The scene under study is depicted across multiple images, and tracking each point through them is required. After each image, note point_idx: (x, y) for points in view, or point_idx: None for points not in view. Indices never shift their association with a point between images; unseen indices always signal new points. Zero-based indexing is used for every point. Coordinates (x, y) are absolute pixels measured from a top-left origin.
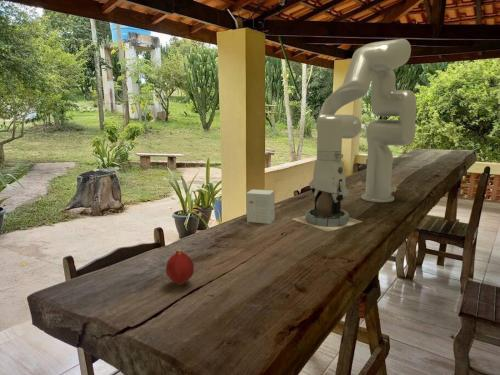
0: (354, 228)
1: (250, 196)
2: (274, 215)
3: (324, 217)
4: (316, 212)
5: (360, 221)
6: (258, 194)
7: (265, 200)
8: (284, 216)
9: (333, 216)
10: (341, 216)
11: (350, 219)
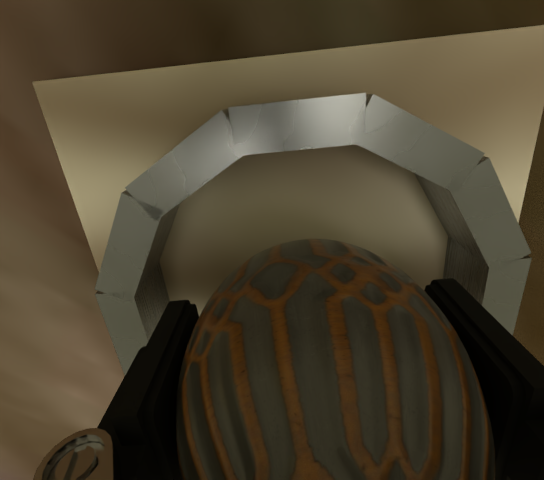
0: (539, 195)
1: None
2: None
3: (236, 252)
4: (152, 290)
5: (540, 47)
6: None
7: None
8: (46, 401)
9: (251, 164)
10: (486, 294)
11: (423, 87)
